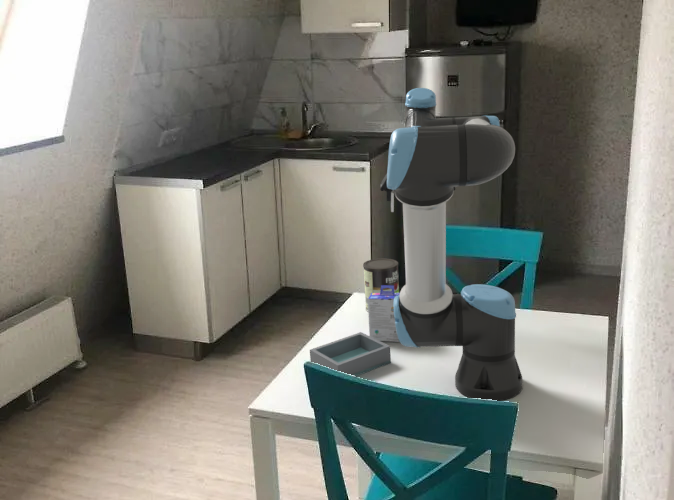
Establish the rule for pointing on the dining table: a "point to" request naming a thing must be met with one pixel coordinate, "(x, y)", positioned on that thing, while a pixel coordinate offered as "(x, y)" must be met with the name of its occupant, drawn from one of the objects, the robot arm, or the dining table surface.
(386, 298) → the ink cartridge box
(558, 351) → the dining table surface
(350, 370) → the walled box
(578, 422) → the dining table surface
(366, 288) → the coffee can
